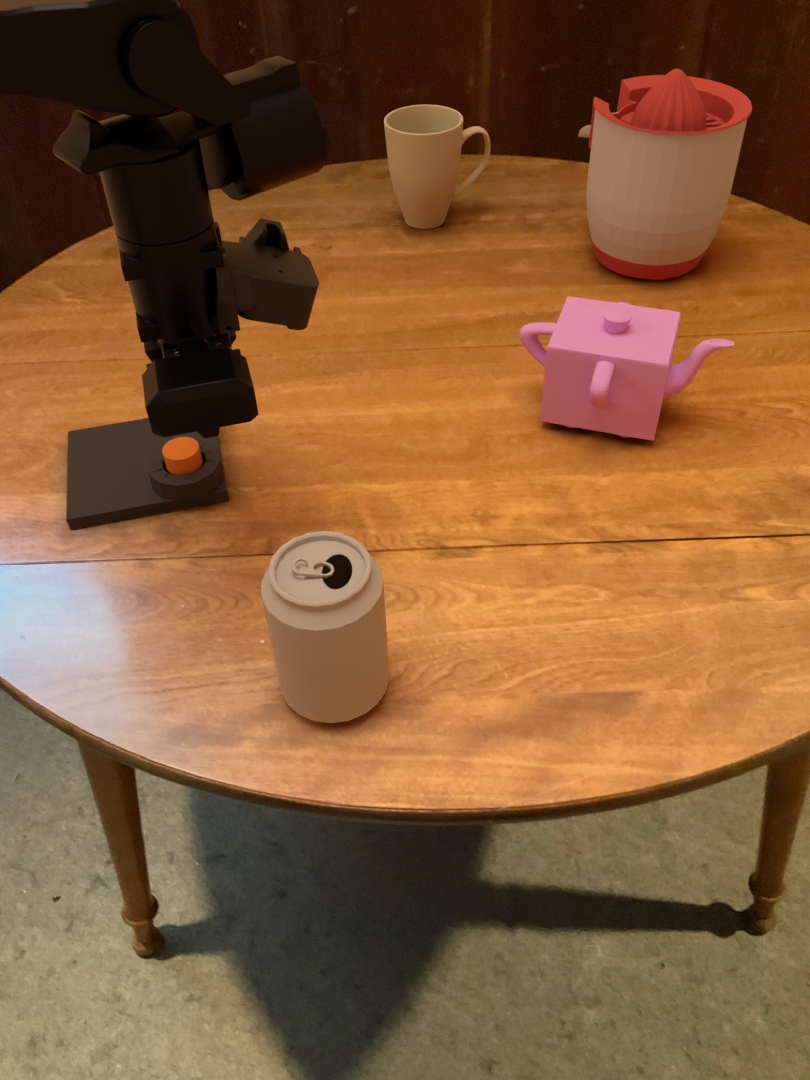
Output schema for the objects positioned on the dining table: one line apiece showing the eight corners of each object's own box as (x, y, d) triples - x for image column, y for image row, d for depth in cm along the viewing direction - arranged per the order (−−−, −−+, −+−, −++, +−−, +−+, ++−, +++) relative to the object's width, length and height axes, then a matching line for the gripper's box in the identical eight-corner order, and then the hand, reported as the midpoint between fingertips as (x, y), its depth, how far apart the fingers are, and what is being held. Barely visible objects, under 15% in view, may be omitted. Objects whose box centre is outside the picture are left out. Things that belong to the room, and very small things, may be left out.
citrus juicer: (606, 209, 114) (629, 31, 99) (740, 248, 106) (786, 60, 92) (537, 260, 105) (551, 73, 91) (678, 307, 97) (717, 109, 83)
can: (388, 730, 61) (380, 611, 52) (275, 731, 61) (248, 611, 53) (391, 641, 66) (384, 520, 58) (287, 642, 66) (264, 521, 58)
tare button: (167, 479, 76) (163, 462, 74) (165, 456, 78) (161, 440, 77) (204, 472, 76) (200, 455, 75) (201, 450, 78) (197, 433, 77)
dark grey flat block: (70, 533, 75) (59, 506, 73) (71, 441, 84) (61, 415, 82) (229, 504, 77) (223, 477, 75) (214, 417, 86) (209, 390, 84)
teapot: (719, 388, 87) (743, 291, 80) (704, 482, 77) (730, 381, 70) (530, 358, 91) (538, 264, 84) (495, 444, 82) (500, 345, 75)
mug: (437, 246, 108) (437, 142, 100) (373, 223, 113) (367, 122, 104) (491, 212, 114) (495, 111, 106) (428, 192, 119) (427, 93, 110)
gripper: (331, 278, 49) (351, 497, 60) (274, 145, 62) (299, 345, 73) (117, 311, 47) (178, 531, 58) (104, 167, 60) (156, 369, 71)
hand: (210, 434), depth 65 cm, fingers closed
